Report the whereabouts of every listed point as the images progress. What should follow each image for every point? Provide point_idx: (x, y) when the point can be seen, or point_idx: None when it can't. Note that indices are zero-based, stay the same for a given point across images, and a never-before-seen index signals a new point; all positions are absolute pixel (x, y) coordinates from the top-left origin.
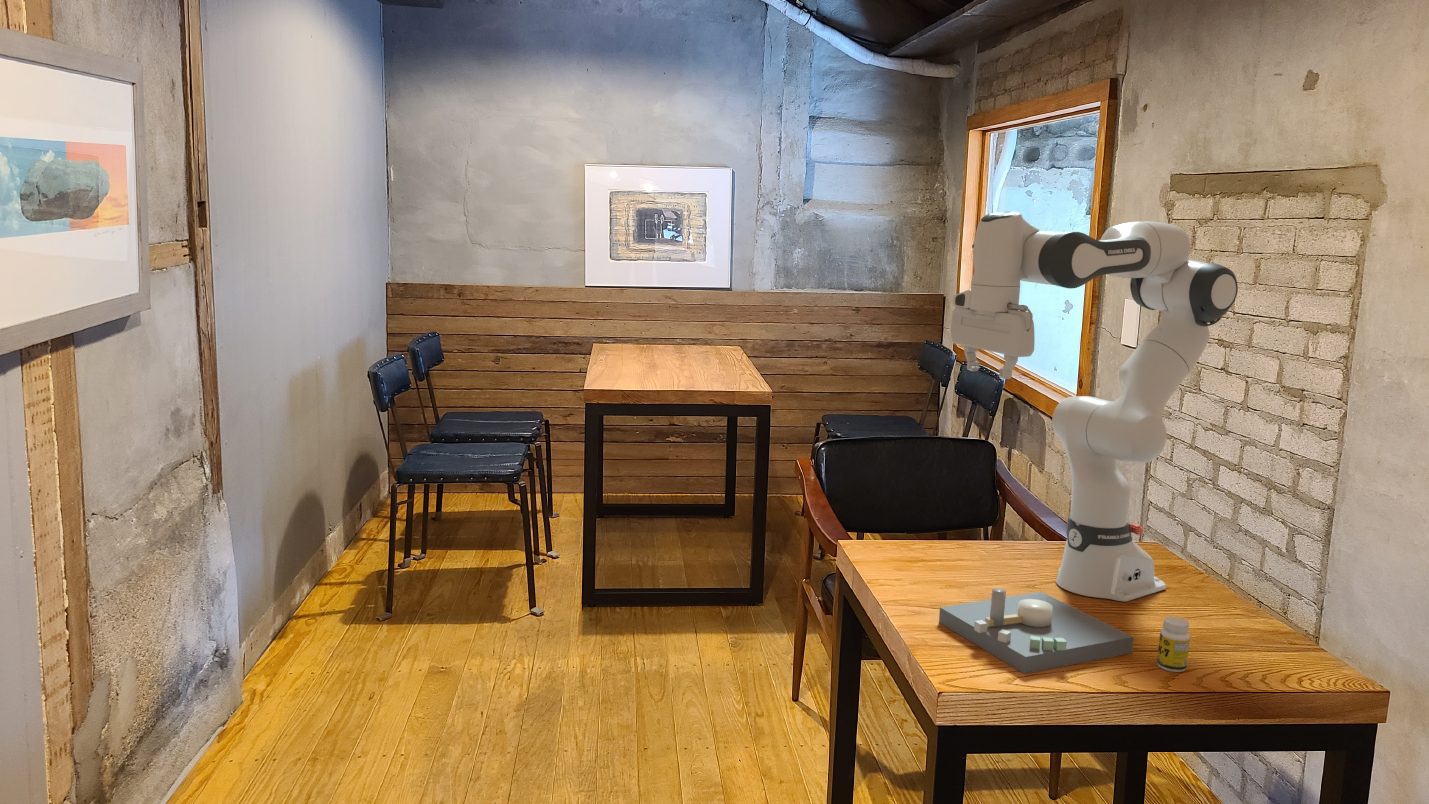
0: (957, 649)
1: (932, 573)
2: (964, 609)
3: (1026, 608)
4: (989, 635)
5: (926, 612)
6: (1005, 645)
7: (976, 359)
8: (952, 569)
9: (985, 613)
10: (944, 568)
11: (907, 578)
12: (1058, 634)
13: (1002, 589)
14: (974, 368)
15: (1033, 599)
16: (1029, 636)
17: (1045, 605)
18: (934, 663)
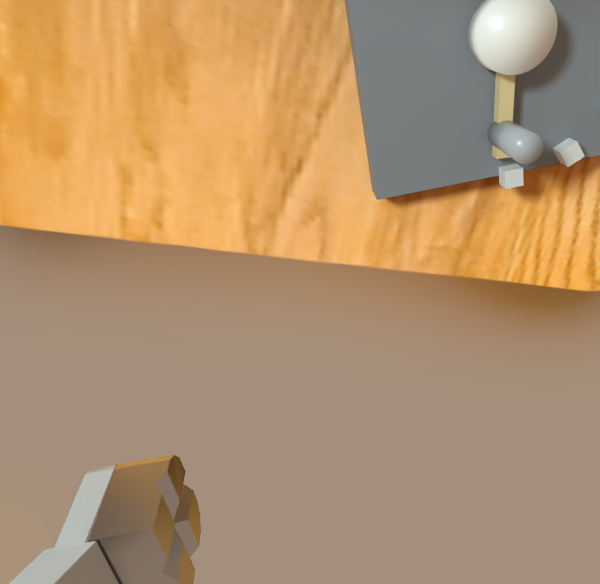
0: (493, 208)
1: (83, 77)
2: (400, 155)
3: (528, 68)
4: (533, 166)
5: (318, 192)
6: (583, 158)
7: (84, 560)
8: (51, 8)
9: (431, 120)
10: (44, 27)
11: (118, 152)
12: (582, 13)
13: (523, 136)
14: (184, 509)
15: (485, 17)
16: (567, 87)
17: (529, 8)
18: (529, 268)
